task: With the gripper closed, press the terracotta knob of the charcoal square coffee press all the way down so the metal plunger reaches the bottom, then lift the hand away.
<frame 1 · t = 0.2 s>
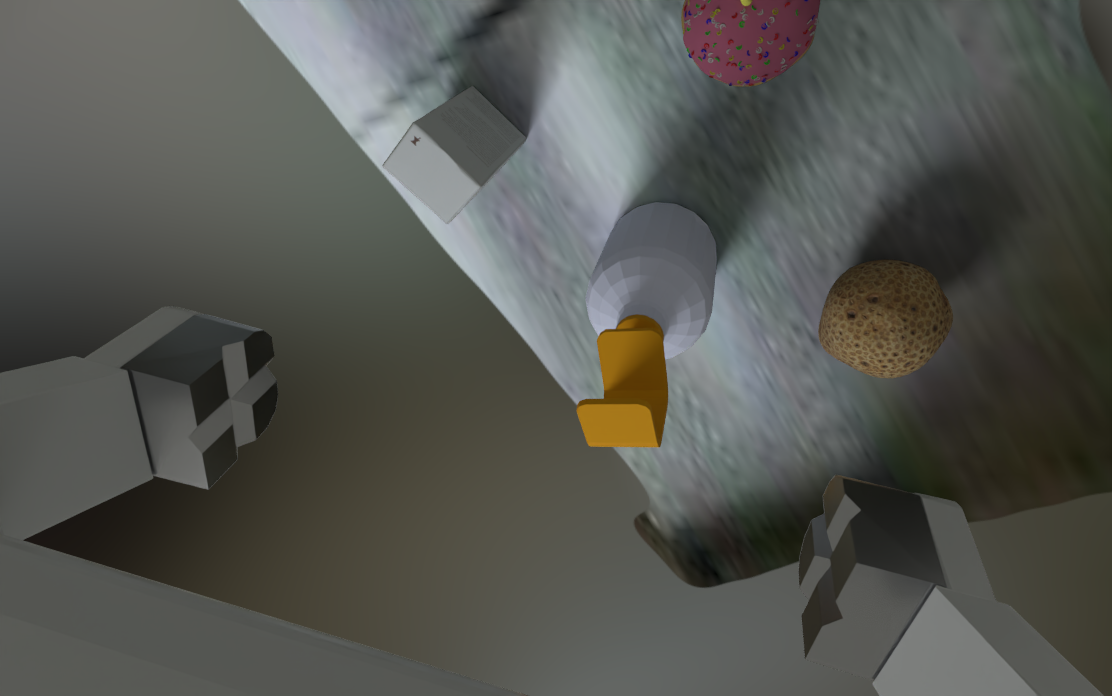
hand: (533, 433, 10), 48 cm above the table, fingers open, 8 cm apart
cupcake: (749, 8, 49), on the table
natural sponge: (873, 286, 57), on the table
skincare box: (486, 130, 58), on the table
soap bottle: (661, 251, 59), on the table
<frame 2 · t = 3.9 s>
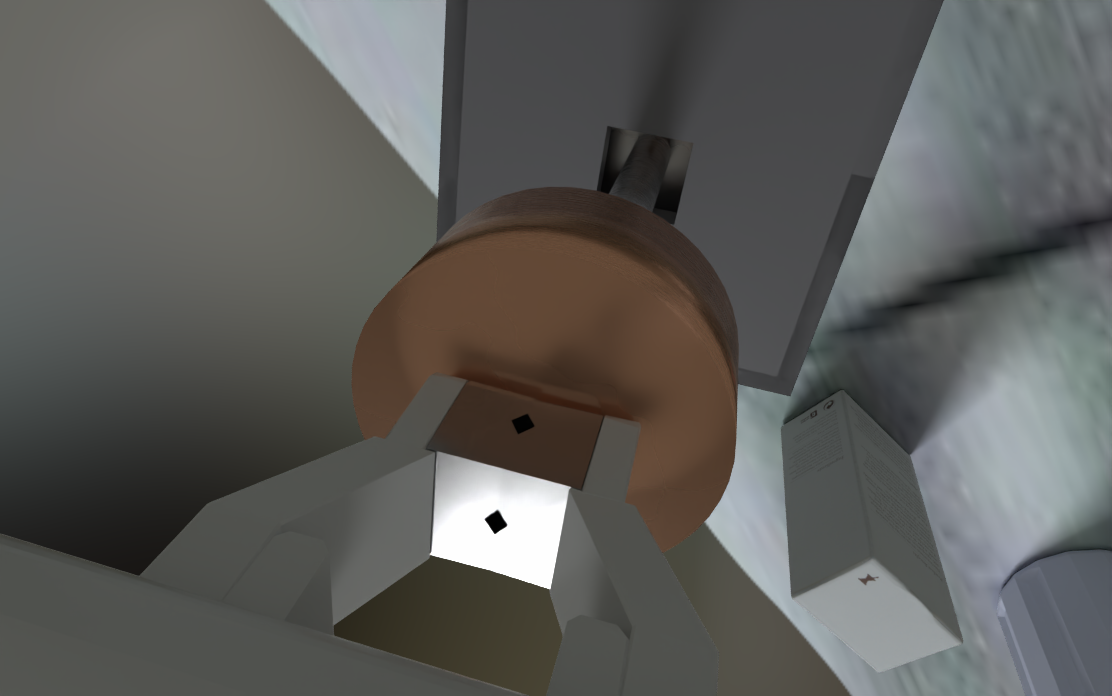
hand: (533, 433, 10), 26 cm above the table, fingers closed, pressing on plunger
plunger: (617, 234, 16), point 18 cm above the table, slide at 1.0 cm, touching gripper
skincare box: (844, 439, 39), on the table
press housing: (682, 80, 32), on the table
soap bottle: (1082, 599, 41), on the table
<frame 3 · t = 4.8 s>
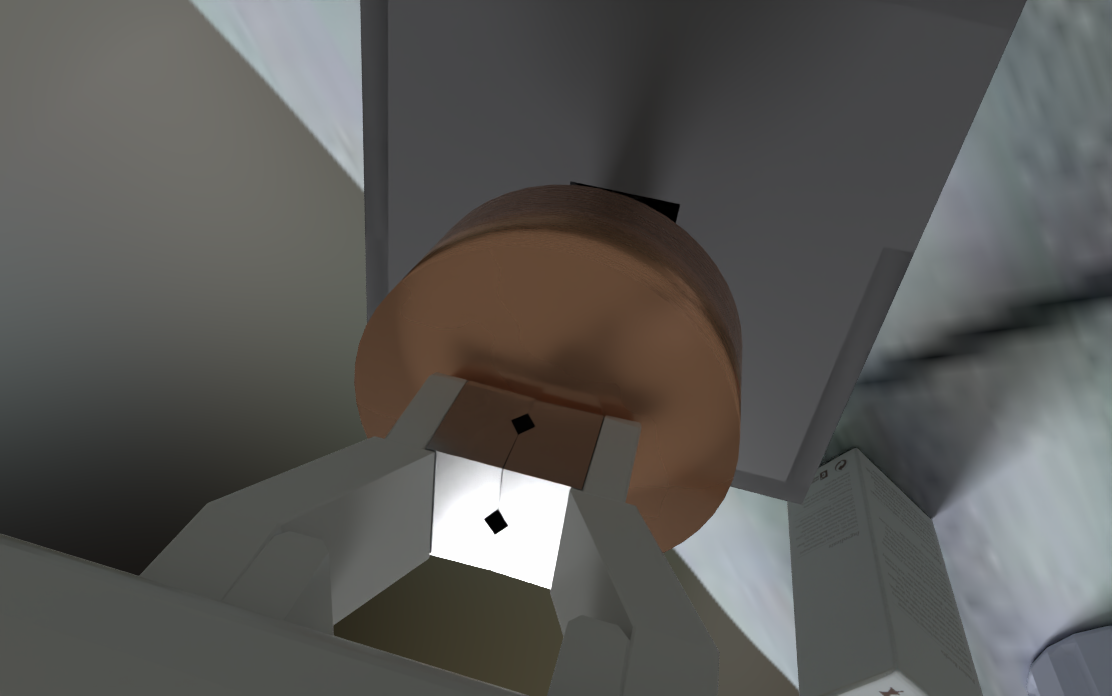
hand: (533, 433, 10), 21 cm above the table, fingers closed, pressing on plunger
plunger: (620, 231, 16), point 13 cm above the table, slide at 6.1 cm, touching gripper
skincare box: (857, 499, 35), on the table
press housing: (673, 103, 27), on the table
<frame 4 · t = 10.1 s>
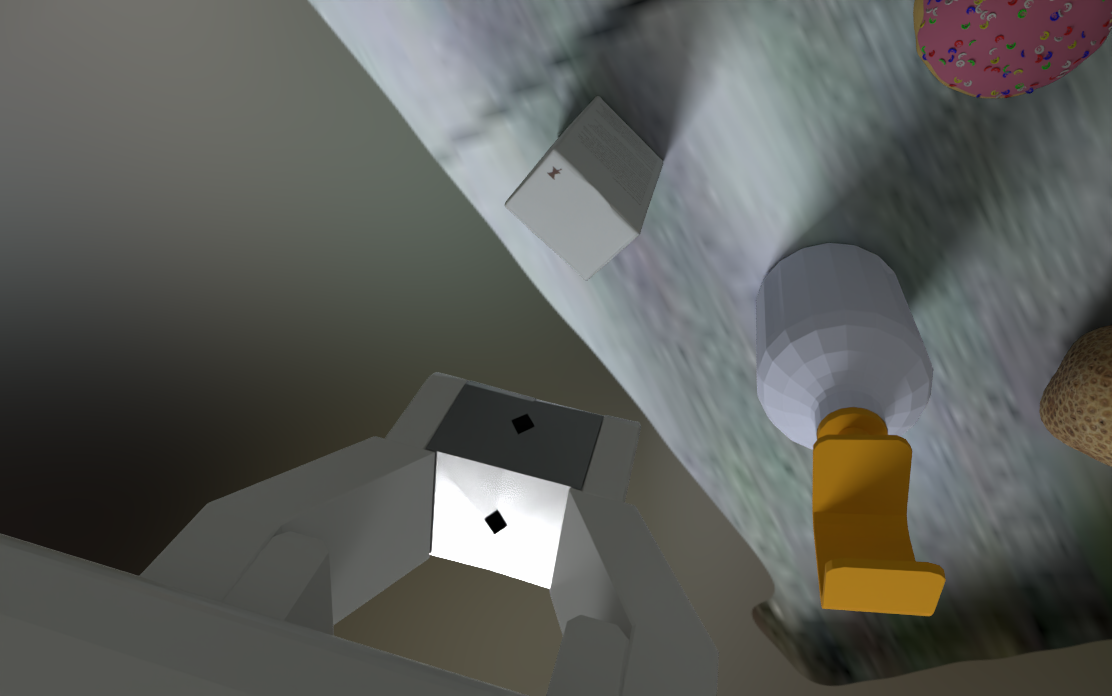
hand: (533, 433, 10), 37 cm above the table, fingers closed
natural sponge: (1104, 349, 45), on the table
skincare box: (610, 151, 45), on the table
soap bottle: (826, 302, 47), on the table
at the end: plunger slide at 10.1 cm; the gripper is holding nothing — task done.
